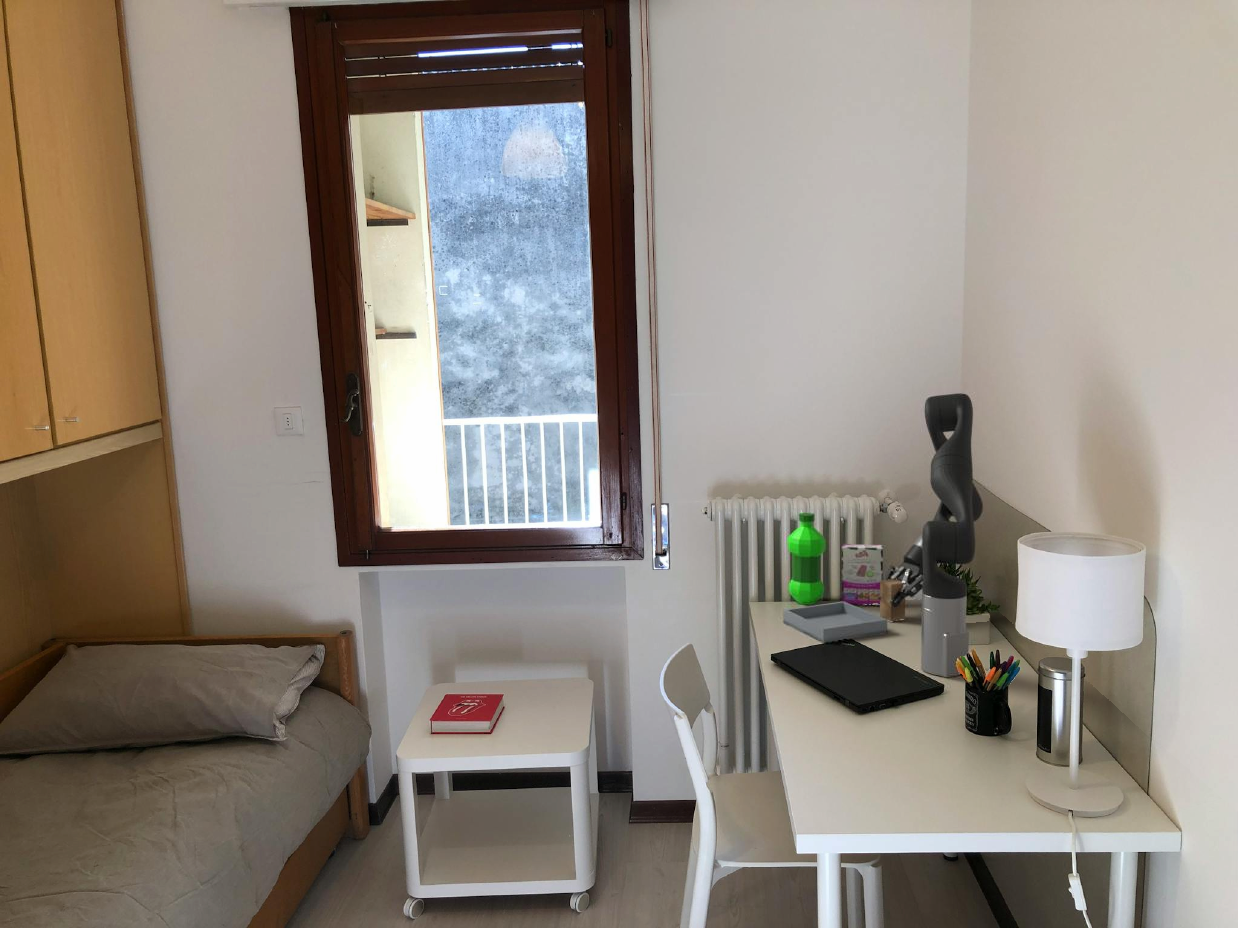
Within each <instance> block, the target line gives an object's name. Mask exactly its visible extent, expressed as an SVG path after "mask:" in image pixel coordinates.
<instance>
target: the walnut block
mask: <svg viewBox="0 0 1238 928" xmlns="http://www.w3.org/2000/svg"><path fill="white" fill-rule="evenodd" d="M901 582H902V581H899V580H897V579H896V580H892V579H890V580H889V579H888V580H883V581H880V606H879V609H880V610H879V616H881V617H882V618H885V619H887V620H889V621H896V620H900V619H905V620H906V597H905V598H904V599H903V600H902V602H901V603H900V604H899V605H898V606H897V607H893V606H892V605H891V604H890V601H891V600H892V599H893V597H894V596H895V595H896V593H897V592H900V591H899V590H900V588H901V586H902V585H903V583H901ZM905 589H906V588H905ZM889 621H888V622H889Z"/></svg>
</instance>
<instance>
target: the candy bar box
mask: <svg viewBox="0 0 1238 928" xmlns="http://www.w3.org/2000/svg"><path fill="white" fill-rule="evenodd" d="M883 579H884V545H883V544H863V543H862V544H855V543H853V544H851V543H850V544H849V543H842V546H841V602H843V601H844V602H846V603H849V604H851V605H854V606H864V605H863V604H867V605H869V604H871V605H872V604H873V603H878V604H880V600H879V599H878V596H879V594H880V581H883Z"/></svg>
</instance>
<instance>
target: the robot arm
mask: <svg viewBox="0 0 1238 928" xmlns="http://www.w3.org/2000/svg"><path fill="white" fill-rule="evenodd" d="M972 402H973V401H972V399H971V397H970V396H969V395H968V394H966V393H961V392H960V393H951V394H950V393H949V394H941V395H935V396H934V395H933V396H929V397H928V398H926V400H925V402H924V419H925V423H926V428H927V431H928V434H929V438H930V440H931V442H932V445H933V449H934V451H935V453H934V455H933V457H932V459H931V462H930V479H929V480H930V487H931V489H932V491H933V493H934V494H935V495H936V496H937V498H938V499H939V500H940V503H939V505H938V508H937V510H936V512H935V515H934V518H933V519H932V520H928V521H926V522H925V523H924V525H923V527H922V532H921V535H920V536H918V538H917V539H915V541H914V542H913V544H912V545H911V547H910V548H909V549H908V550H907V552H906V553H905V554H904V555H903V562H902V563H901V564H900V565H898V566H896V567H895V566H894V565H893V564H891V565H889V567H888V569H887V571H886V573H885V574H884V576H883V580H890V579H892V580H899V581H902V582H901V583H903V585H902V586H901V588H900V590H899V591H900V592H897V593H896V595H895V596H894V597H893V599H892V600H891V601H890V604H891V605H892V606H893V607H897V606H898V605H899V604H900V603H901V602H902V600H903V599H904V598H905V599H906V598H908V597H911V598H914V596H916V595H918V593H919V592H920V591H921V590H922V594H921V631H920V634H921V639H920V641H921V643H920V651H921V652H920V668H921V670H922V671H924V672H926V673H927V674H931V675H935V676H941V677H943V678H951V677H955V676H961V675H960V674H959V672H958V670H957V667H956V661H957V658H959V657H960V656H965V655H967V654H968V655H969V649H970V648H969V647H970V646H969V644H970V633H969V631H968V630H966V629H967V597H968V596H967V595H968V593H967V592H968V586H967V583H966V581H965V580H963V579H962V578H960V577H957V576H954V575H951V574H950V573H947V572H946V571H944V570H943V569H941V568H940V566H938V565H939V564H946V565H947V564H948V565H967V564H970V563H972V562H973V560H974V557H975V555H976V532H975V524H974V522H976V521H977V520H979V519H980V518H981V515H982V513H983V511H984V507H983V506H984V505H983V501H982V498H981V495H980V493H979V491H978V489H977V487H976V486H975V484H974V482H973V480H974V479H973V478H974V477H973V476H974V475H973V457H972V456H973V455H972V437H973V436H972V435H973V422H974V418H973V417H974V407H973V403H972ZM949 432H953V433H952V434H951V436H950V437H948V438H947V437H946V435H945V433H949ZM952 517H954V520H955V521H951V520H950V519H951V518H952ZM905 588H906V589H905ZM878 599H879V600H880V594H879V596H878Z"/></svg>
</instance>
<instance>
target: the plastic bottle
mask: <svg viewBox="0 0 1238 928" xmlns="http://www.w3.org/2000/svg"><path fill="white" fill-rule="evenodd" d="M798 521H799V522H800V526H799V527H798V528H796V529H795V530H794V531H793V532H792V533H791V534H790V535H789V536H788V538H787V547H788V548H787V549H788V551H789V552H790V553H791V561H792V562H791V570H792V571H791V574H792V575H791V580H790V581H789V583H788V592H789V593H790V595H791V597H792V598H793V599H794V600H795V601H796V602H797V603H798V604H802V605H813V604H816V603H817V601H819V600H820V599H821V598H822V597H823V595H824V593H825V586H824V583H823V582H822V580H821V579H822V555H823V553H825V551H826V545H827V543H826V539H825V537H824V536H823V534H822V533H820V532H819V530H817V529H816V528H815V527H814V526H813V522H815V513H812V512H801V513H800V512H799V513H798Z"/></svg>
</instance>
